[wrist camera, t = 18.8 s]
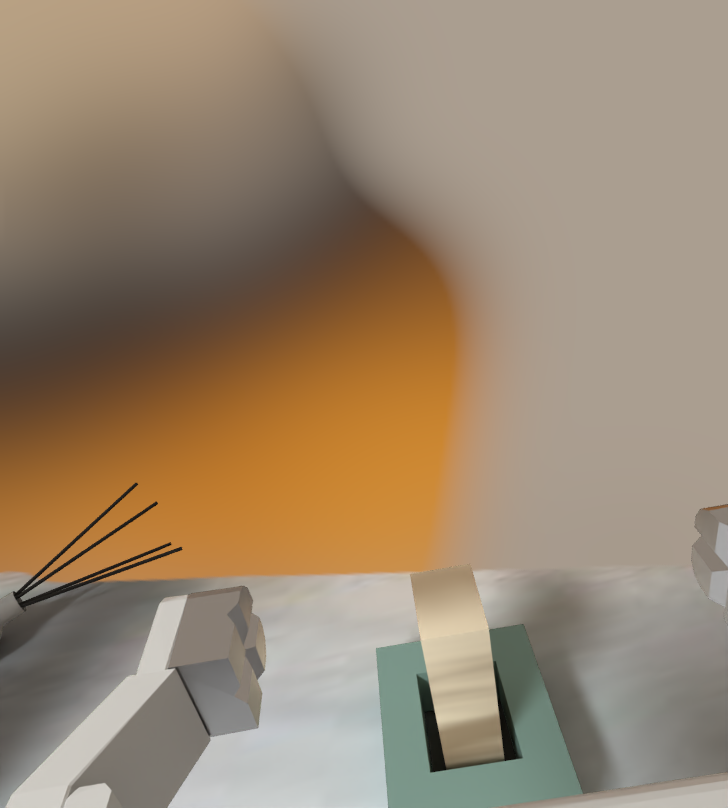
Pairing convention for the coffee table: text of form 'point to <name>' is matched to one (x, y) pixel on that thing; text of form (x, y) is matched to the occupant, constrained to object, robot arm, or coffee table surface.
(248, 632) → the robot arm
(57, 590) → the reed diffuser
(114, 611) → the coffee table surface
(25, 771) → the coffee table surface
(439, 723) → the light wooden block
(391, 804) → the sage square frame
